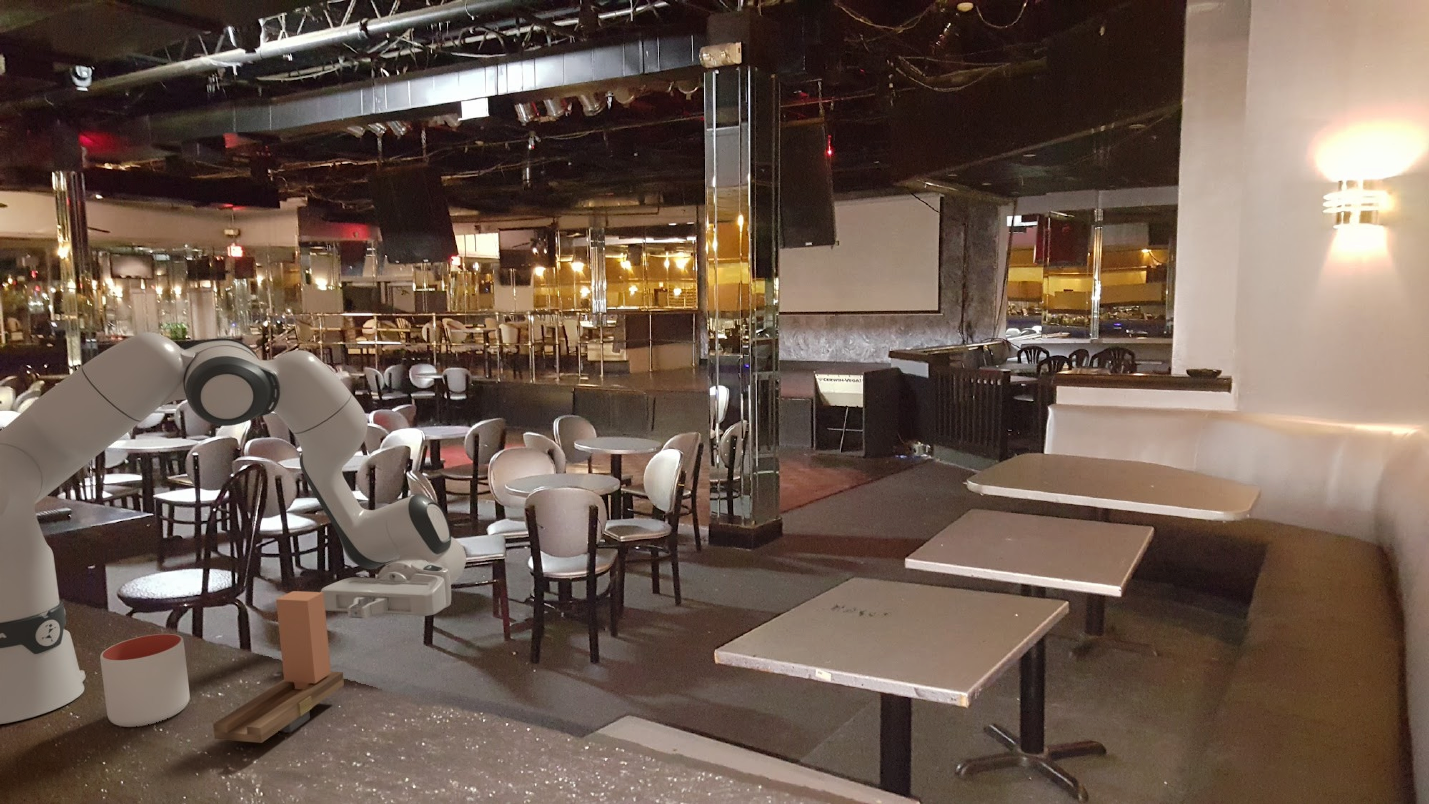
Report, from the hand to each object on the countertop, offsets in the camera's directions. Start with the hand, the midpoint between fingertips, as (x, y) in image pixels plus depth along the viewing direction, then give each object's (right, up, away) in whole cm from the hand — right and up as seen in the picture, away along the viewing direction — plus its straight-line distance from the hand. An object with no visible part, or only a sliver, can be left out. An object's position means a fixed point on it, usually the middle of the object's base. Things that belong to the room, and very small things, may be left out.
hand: (355, 613), depth 141 cm
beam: (-3, -11, -16) cm, 20 cm away
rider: (-2, -8, -11) cm, 14 cm away
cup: (-25, -12, -11) cm, 30 cm away
